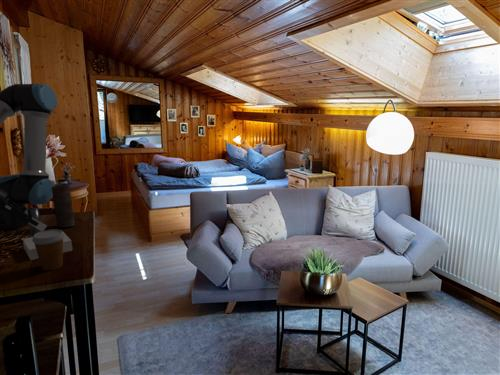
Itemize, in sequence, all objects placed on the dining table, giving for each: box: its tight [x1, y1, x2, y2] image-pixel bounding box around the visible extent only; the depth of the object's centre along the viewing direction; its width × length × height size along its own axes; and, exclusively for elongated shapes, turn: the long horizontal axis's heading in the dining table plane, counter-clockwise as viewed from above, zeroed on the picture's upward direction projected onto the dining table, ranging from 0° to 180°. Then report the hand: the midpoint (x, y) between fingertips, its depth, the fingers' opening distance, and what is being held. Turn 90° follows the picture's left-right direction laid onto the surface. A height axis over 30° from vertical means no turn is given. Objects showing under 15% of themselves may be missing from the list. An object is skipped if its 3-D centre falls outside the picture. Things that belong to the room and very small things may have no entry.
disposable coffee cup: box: [32, 229, 64, 271], centre depth 122 cm, size 10×10×12 cm
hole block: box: [22, 230, 73, 261], centre depth 138 cm, size 14×14×4 cm
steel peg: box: [27, 207, 42, 237], centre depth 148 cm, size 4×4×13 cm
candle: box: [52, 183, 76, 228], centre depth 162 cm, size 8×7×20 cm
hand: (41, 224), depth 150 cm, fingers open, 13 cm apart
